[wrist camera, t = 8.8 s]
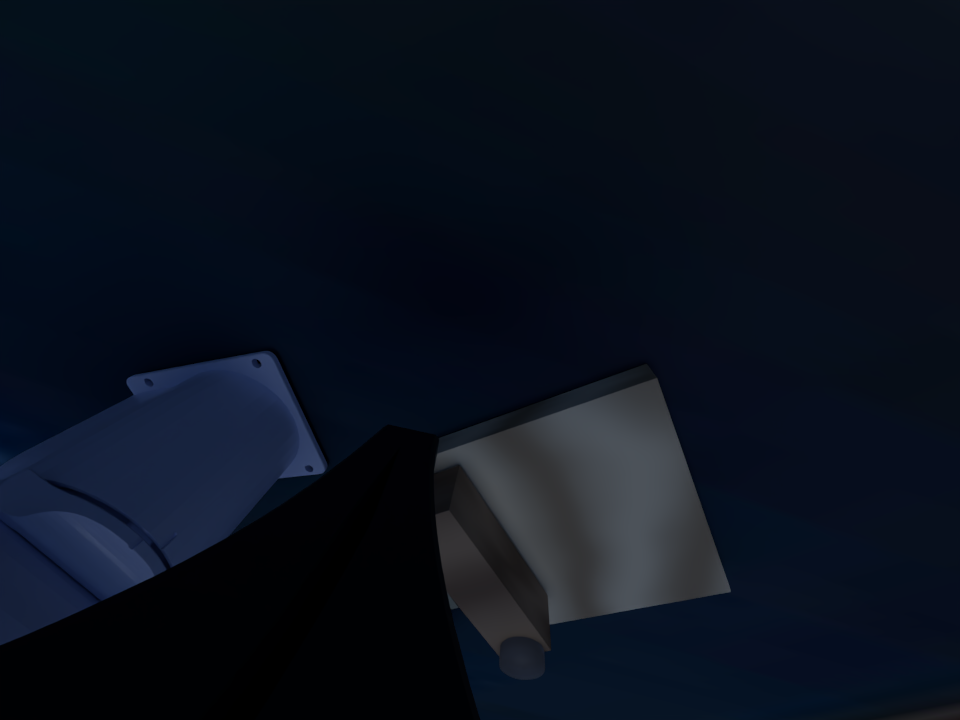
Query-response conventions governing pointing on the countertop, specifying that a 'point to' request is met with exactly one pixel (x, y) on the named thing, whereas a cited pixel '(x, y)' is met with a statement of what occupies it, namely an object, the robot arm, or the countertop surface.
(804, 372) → the countertop surface
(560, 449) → the stool seat
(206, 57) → the countertop surface
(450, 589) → the stool leg
